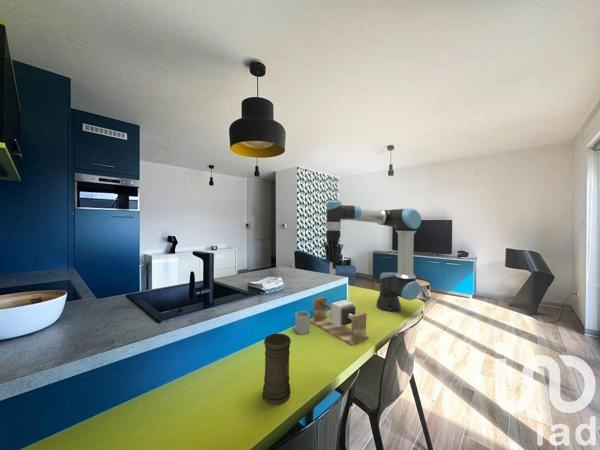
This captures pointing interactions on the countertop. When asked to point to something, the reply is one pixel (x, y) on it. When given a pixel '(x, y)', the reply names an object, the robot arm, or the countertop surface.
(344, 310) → the dark grey square plate
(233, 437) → the countertop surface
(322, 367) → the countertop surface
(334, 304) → the sleeve
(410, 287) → the robot arm
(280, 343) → the container
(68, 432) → the countertop surface
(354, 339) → the stand
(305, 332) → the cup
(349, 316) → the pipe
